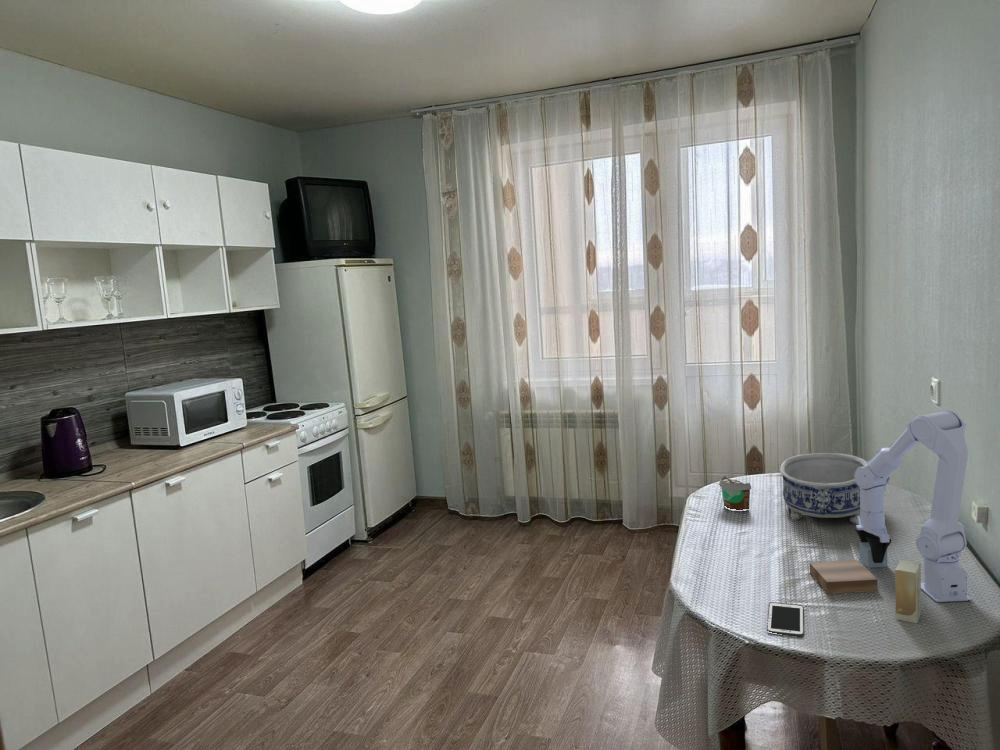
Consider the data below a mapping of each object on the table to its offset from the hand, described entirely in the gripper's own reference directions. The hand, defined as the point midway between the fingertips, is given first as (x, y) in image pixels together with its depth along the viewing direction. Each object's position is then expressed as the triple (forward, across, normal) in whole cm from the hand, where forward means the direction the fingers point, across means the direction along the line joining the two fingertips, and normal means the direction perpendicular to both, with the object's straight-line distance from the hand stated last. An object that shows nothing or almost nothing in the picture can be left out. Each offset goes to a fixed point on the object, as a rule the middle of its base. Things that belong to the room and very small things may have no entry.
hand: (873, 558), depth 187 cm
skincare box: (+2, +29, -5) cm, 29 cm away
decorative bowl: (+2, -44, +4) cm, 44 cm away
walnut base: (+1, +10, -12) cm, 16 cm away
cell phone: (+2, +28, -32) cm, 43 cm away
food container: (+2, -49, -25) cm, 55 cm away
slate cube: (+1, 0, 0) cm, 1 cm away
